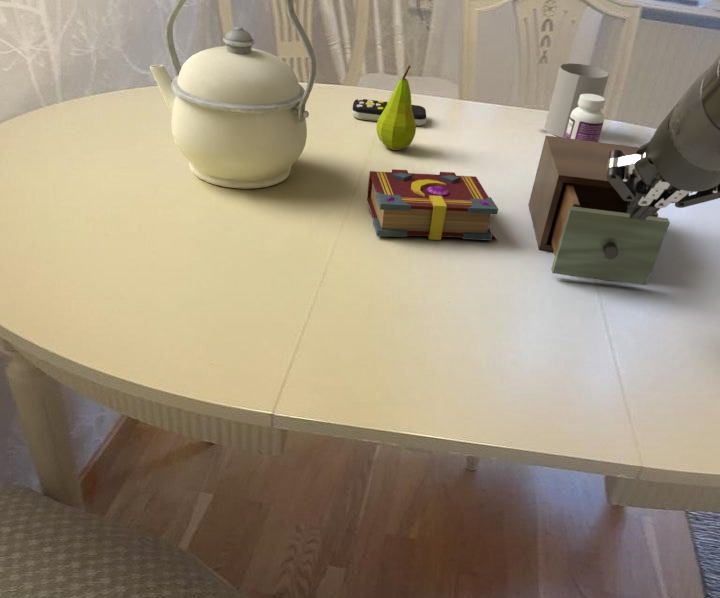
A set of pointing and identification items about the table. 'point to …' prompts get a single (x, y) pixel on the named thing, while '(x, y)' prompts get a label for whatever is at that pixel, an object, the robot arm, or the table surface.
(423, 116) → the remote control
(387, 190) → the decorative book
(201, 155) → the kettle
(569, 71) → the cup
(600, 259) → the drawer
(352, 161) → the table surface
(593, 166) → the cabinet
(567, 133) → the pill bottle
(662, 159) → the robot arm
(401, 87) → the fruit
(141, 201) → the table surface
